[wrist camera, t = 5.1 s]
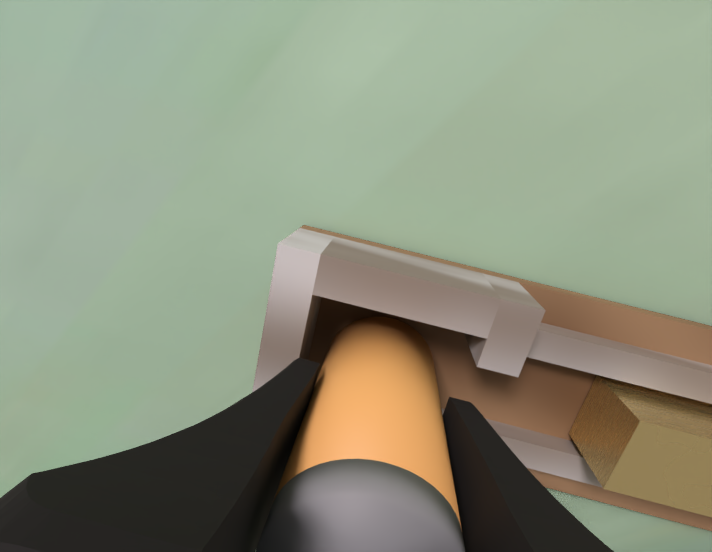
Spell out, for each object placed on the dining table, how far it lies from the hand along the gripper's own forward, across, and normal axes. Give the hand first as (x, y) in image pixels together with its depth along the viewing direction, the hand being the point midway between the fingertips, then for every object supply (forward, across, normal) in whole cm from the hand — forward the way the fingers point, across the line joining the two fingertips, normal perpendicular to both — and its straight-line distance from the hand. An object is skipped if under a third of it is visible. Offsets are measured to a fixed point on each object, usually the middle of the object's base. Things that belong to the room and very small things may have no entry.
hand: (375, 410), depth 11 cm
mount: (+4, -7, 0) cm, 8 cm away
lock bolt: (+3, -11, 0) cm, 12 cm away
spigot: (+2, 0, 0) cm, 2 cm away
